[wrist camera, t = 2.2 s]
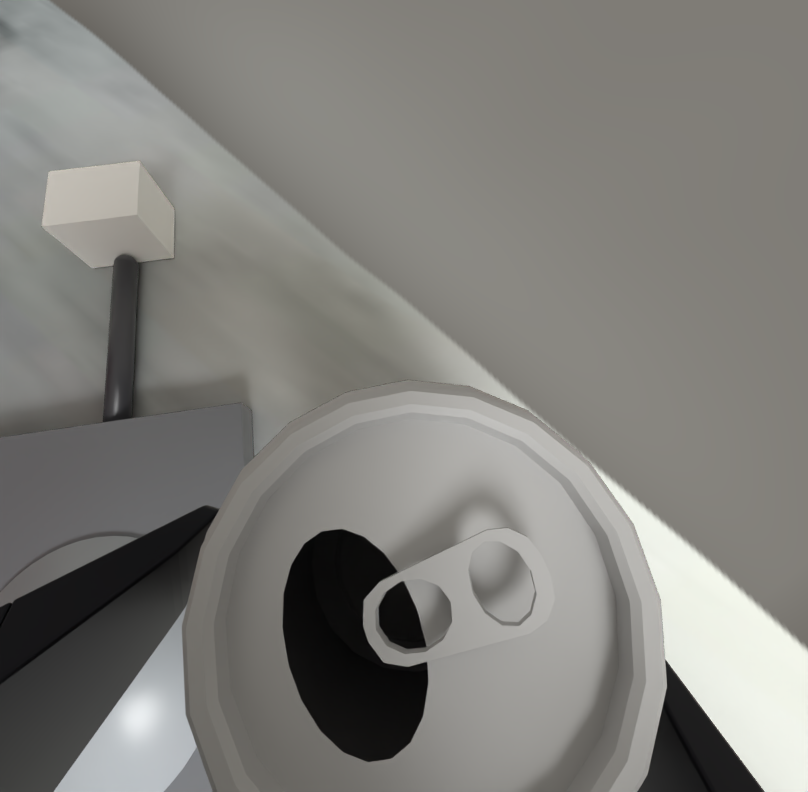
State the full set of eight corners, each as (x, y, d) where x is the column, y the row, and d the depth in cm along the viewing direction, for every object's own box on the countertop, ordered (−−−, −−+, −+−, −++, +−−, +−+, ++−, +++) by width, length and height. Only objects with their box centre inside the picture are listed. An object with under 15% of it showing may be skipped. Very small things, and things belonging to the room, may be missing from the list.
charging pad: (275, 959, 13) (239, 1080, 10) (-91, 1033, 13) (-237, 1183, 10) (242, 200, 22) (218, 151, 19) (26, 227, 21) (-33, 180, 18)
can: (293, 500, 17) (75, 444, 6) (460, 436, 18) (555, 278, 7) (351, 698, 15) (188, 1226, 4) (537, 616, 16) (875, 841, 4)
